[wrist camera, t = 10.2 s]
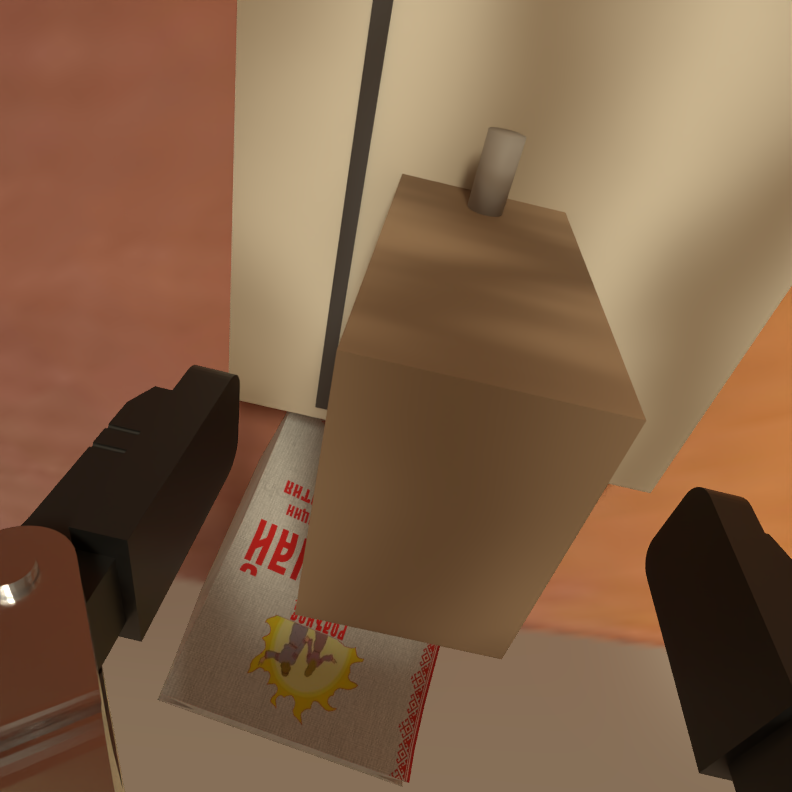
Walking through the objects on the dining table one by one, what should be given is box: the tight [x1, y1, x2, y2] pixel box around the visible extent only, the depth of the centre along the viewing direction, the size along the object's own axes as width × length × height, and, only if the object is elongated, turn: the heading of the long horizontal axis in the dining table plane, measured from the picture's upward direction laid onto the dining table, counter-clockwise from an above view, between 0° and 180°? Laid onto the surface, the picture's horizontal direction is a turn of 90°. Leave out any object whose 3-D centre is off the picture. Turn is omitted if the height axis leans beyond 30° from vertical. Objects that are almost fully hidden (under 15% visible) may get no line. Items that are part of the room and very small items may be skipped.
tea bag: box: [158, 411, 440, 786], centre depth 18 cm, size 4×7×10 cm, turn 61°
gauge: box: [295, 127, 646, 659], centre depth 12 cm, size 4×8×8 cm, turn 169°
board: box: [229, 0, 792, 493], centre depth 13 cm, size 14×20×2 cm
